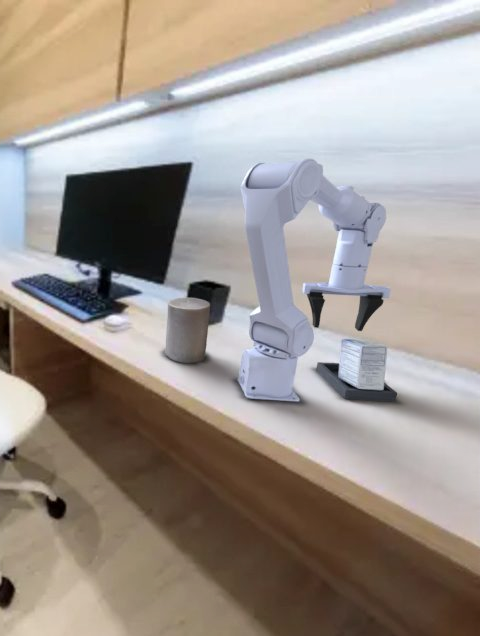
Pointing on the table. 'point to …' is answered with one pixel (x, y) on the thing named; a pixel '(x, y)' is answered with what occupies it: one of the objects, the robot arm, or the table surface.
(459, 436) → the table surface
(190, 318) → the pillar candle
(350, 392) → the pad
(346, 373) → the medicine box
